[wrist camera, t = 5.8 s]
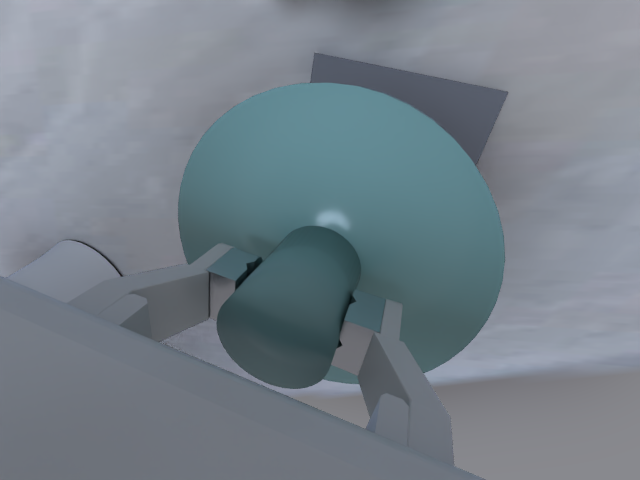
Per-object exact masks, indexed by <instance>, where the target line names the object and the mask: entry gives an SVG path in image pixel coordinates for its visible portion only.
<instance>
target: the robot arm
mask: <svg viewBox="0 0 640 480" xmlns="http://www.w3.org/2000/svg"><path fill="white" fill-rule="evenodd" d="M262 261H263V259H262V257H261V256H258V255H255V254H252V253H250V252H247V251H244V250H241V249H239V248H236V247H233V246H230V245H227V244H224V243H218V244H217V245H216V246H214V247H213V248H212V249H210V250H209V251H208V252H206V253H205V254H204V255H202V256H201V257H200V258H198V259H197V260H196V261H194V262H193V263H192V264H190V265H188V264H181V265H176V266H171V267H167V268H162V269H157V270H152V271H147V272H142V273H138V274H133V275H128V276H123V277H121V276H120V275H119V273H118V272H117V271H116V269H115V268H114V267H113V266H112V265H111V264H110V263H109V262H108V261H107V260H106V259H105V258H104V257H103V256H102V255H100V254H99V253H98V252H96V251H95V250H93V249H92V248H90V247H88V246H86V245H84V244H82V243H79V242H76V241H71V240H64V241H61V242H58V243H57V244H56V245H55V246H54V247H52V248H51V249H50V250H49V251H47V252H46V253H45V254H43V255H42V256H40V257H39V258H38V259H36V260H35V261H33V262H31V263H30V264H28V265H27V266H25V267H23V268H22V269H20V270H18V271H17V272H15V273H13V274H12V275H10V276H8V277H6V278H4V277H2V276H0V480H486V479H484V478H481V477H479V476H476V475H474V474H472V473H469V472H467V471H464V470H462V469H460V468H457V467H455V466H454V455H453V441H452V429H451V417H450V415H449V414H448V412H447V411H446V409H445V407H444V406H443V404H442V402H441V401H440V399H439V398H438V396H437V394H436V393H435V391H434V390H433V388H432V386H431V385H430V383H429V382H428V380H427V378H426V377H425V375H424V374H423V372H422V370H421V369H420V367H419V366H418V364H417V362H416V361H415V359H414V358H413V356H412V354H411V353H410V351H409V349H408V348H407V346H406V345H405V343H404V342H402V341H399V337H400V327H401V317H402V307H403V305H402V303H399V302H395V301H392V300H389V299H384V298H381V297H378V296H375V295H372V294H369V293H366V292H363V291H360V290H357V289H355V290H354V293H353V296H352V299H351V302H350V305H349V307H348V310H347V313H346V316H345V319H344V322H343V326H342V329H341V332H340V337H339V339H340V340H339V342H338V345H337V348H336V351H335V354H334V357H333V360H332V363H331V365H333V366H335V367H338V368H340V369H343V370H345V371H347V372H350V373H352V374H354V375H357V376H358V377H357V378H358V381H359V384H360V387H361V391H362V394H363V397H364V400H365V403H366V406H367V410H368V412H369V416H370V420H369V422H368V425H367V427H366V429H364V428H362V427H360V426H357V425H354V424H352V423H350V422H347V421H345V420H343V419H340V418H338V417H336V416H333V415H331V414H329V413H326V412H324V411H321V410H319V409H317V408H314V407H312V406H310V405H307V404H305V403H302V402H300V401H297V400H295V399H293V398H291V397H288V396H286V395H283V394H281V393H279V392H276V391H274V390H271V389H269V388H267V387H264V386H262V385H260V384H257V383H255V382H252V381H250V380H248V379H245V378H243V377H240V376H238V375H236V374H233V373H231V372H229V371H226V370H224V369H221V368H219V367H217V366H214V365H212V364H210V363H207V362H205V361H202V360H200V359H198V358H195V357H193V356H190V355H188V354H186V353H183V352H181V351H179V350H176V349H174V348H171V347H169V346H167V345H164V344H162V343H159V342H160V341H162V340H164V339H166V338H169V337H171V336H173V335H175V334H177V333H179V332H182V331H184V330H186V329H188V328H190V327H193V326H195V325H197V324H199V323H201V322H203V321H206V320H208V319H209V318H211V319H214V320H216V321H217V316H218V312H219V310H220V308H221V306H222V305H223V304H224V302H225V301H226V300H227V299H228V298H229V297H230V296H231V295H232V294H233V293H234V292H235V290H236V289H237V288H238V287H239V286H240V285H241V284H242V283H243V282H244V281H245V280H246V279H247V278H248V276H249V275H250V274H251V273H252V272H253V271H254V270H255V269H256V268H257V267H258V266H259V265H260V264H261V263H262Z"/></svg>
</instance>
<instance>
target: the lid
mask: <svg viewBox="0 0 640 480" xmlns="http://www.w3.org/2000/svg"><path fill="white" fill-rule="evenodd" d="M178 222H179V230H180V238H181V242H182V246H183V250H184V254H185V257H186V260H187V262H188V265H190V264H192V263H193V262H194V261H196V260H197V259H198V258H200V257H201V256H202V255H204V254H205V253H206V252H208V251H209V250H210V249H212V248H213V247H214V246H216V245H217V244H218V243H224V244H227V245H230V246H233V247H236V248H239V249H241V250H244V251H247V252H250V253H252V254H255V255H258V256H261V257H262V259H263V261H262V263H261V264H260V265H259V266H258V267H257V268H256V269H255V270H254V271H253V272H252V273H251V274H250V275H249V276H248V278H247V279H246V280H245V281H244V282H243V283H242V284H241V285H240V286H239V287H238V288H237V289H236V290H235V292H234V293H233V294H232V295H231V296H230V297H229V298H228V299H227V300H226V301H225V302H224V304H223V305H222V306H221V308H220V310H219V312H218V316H217V331H218V335H219V338H220V340H221V343H222V345H223V347H224V348H225V350H226V351H227V353H228V354H229V355H230V357H231V358H232V359H233V360H234V361H235V362H236V363H237V364H238V365H239V366H240V367H241V368H242V369H244V370H245V371H246V372H248V373H249V374H251V375H252V376H254V377H255V378H257V379H259V380H261V381H263V382H266V383H268V384H271V385H274V386H278V387H282V388H290V389H300V388H306V387H309V386H312V385H314V384H317V383H318V382H320V381H321V380H322V379H324V380H328V381H334V382H341V383H349V384H359V381H358V378H357V377H358V376H357V375H354V374H352V373H350V372H347V371H345V370H343V369H340V368H338V367H335V366H333V365H331V363H332V360H333V357H334V354H335V351H336V348H337V345H338V342H339V340H340V339H339V337H340V332H341V329H342V326H343V322H344V319H345V316H346V313H347V310H348V307H349V305H350V302H351V299H352V296H353V293H354V290H355V289H357V290H360V291H363V292H366V293H369V294H372V295H375V296H378V297H381V298H384V299H389V300H392V301H395V302H399V303H402V305H403V307H402V317H401V327H400V337H399V341H402V342H404V343H405V345H406V346H407V348H408V349H409V351H410V353H411V354H412V356H413V358H414V359H415V361H416V362H417V364H418V366H419V367H420V369H421V370H422V372H423V373H425V372H428V371H430V370H433V369H434V368H436V367H438V366H440V365H441V364H443V363H445V362H447V361H448V360H450V359H451V358H452V357H454V356H455V355H456V354H458V353H459V352H460V351H462V350H463V349H464V348H465V347H466V346H467V345H468V344H469V343H470V342H471V341H472V340H473V339H474V338H475V337H476V335H477V334H478V333H479V331H480V330H481V328H482V327H483V326H484V324H485V323H486V321H487V320H488V318H489V316H490V314H491V312H492V310H493V308H494V306H495V304H496V301H497V298H498V294H499V291H500V288H501V284H502V280H503V271H504V263H505V252H504V235H503V231H502V226H501V222H500V218H499V213H498V210H497V207H496V205H495V202H494V200H493V198H492V195H491V193H490V190H489V188H488V186H487V184H486V183H485V181H484V179H483V178H482V176H481V174H480V173H479V171H478V169H477V168H476V166H475V164H474V163H473V161H472V160H471V158H470V156H469V155H468V154H467V152H466V151H465V150H464V149H463V148H462V146H461V145H460V144H459V143H458V142H457V140H456V139H455V138H454V137H453V136H452V135H451V134H450V133H449V132H448V131H447V130H446V129H444V128H443V127H442V126H441V125H440V124H439V123H438V122H436V121H435V120H434V119H433V118H432V117H430V116H429V115H427V114H425V113H424V112H422V111H421V110H419V109H418V108H416V107H415V106H413V105H412V104H410V103H407V102H405V101H403V100H401V99H399V98H396V97H394V96H392V95H390V94H388V93H384V92H381V91H377V90H374V89H370V88H367V87H363V86H357V85H349V84H341V83H300V84H295V85H289V86H284V87H278V88H274V89H271V90H269V91H266V92H263V93H260V94H257V95H255V96H252V97H251V98H249V99H247V100H245V101H243V102H242V103H240V104H238V105H236V106H234V107H233V108H232V109H230V110H229V111H228V112H227V113H225V114H224V115H223V116H222V117H220V118H219V119H218V120H217V121H216V122H215V123H214V124H213V125H212V126H211V127H210V128H209V130H208V131H207V132H206V133H205V134H204V135H203V137H202V138H201V140H200V141H199V143H198V144H197V146H196V147H195V149H194V151H193V152H192V155H191V157H190V159H189V161H188V164H187V166H186V168H185V172H184V175H183V179H182V183H181V187H180V194H179V202H178Z"/></svg>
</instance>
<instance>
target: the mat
mask: <svg viewBox="0 0 640 480" xmlns="http://www.w3.org/2000/svg"><path fill="white" fill-rule="evenodd" d="M310 83H341V84H349V85H357V86H363V87H367V88H370V89H374V90H377V91H381V92H384V93H388V94H390V95H392V96H394V97H396V98H399V99H401V100H403V101H405V102H407V103H410V104H412V105H413V106H415V107H416V108H418V109H419V110H421V111H422V112H424V113H425V114H427V115H429V116H430V117H432V118H433V119H434V120H435V121H436V122H438V123H439V124H440V125H441V126H442V127H443V128H444V129H446V130H447V131H448V132H449V133H450V134H451V135H452V136H453V137H454V138H455V139H456V140H457V142H458V143H459V144H460V145H461V146H462V148H463V149H464V150H465V151H466V152H467V154H468V155H469V156H470V158H471V160H472V161H473V163H474V164H475V166H476V164H477V162H478V160H479V158H480V155H481V153H482V151H483V148H484V146H485V144H486V142H487V139H488V137H489V135H490V133H491V130H492V128H493V126H494V123H495V121H496V119H497V117H498V114H499V112H500V110H501V108H502V105H503V103H504V101H505V99H506V96H507V94H508V92H506V91H501V90H496V89H491V88H486V87H481V86H476V85H471V84H466V83H461V82H456V81H451V80H447V79H442V78H437V77H432V76H427V75H422V74H417V73H412V72H407V71H402V70H397V69H392V68H387V67H382V66H377V65H373V64H368V63H363V62H358V61H353V60H348V59H343V58H338V57H333V56H328V55H323V54H318V53H315V54H314V61H313V68H312V75H311V82H310Z"/></svg>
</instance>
